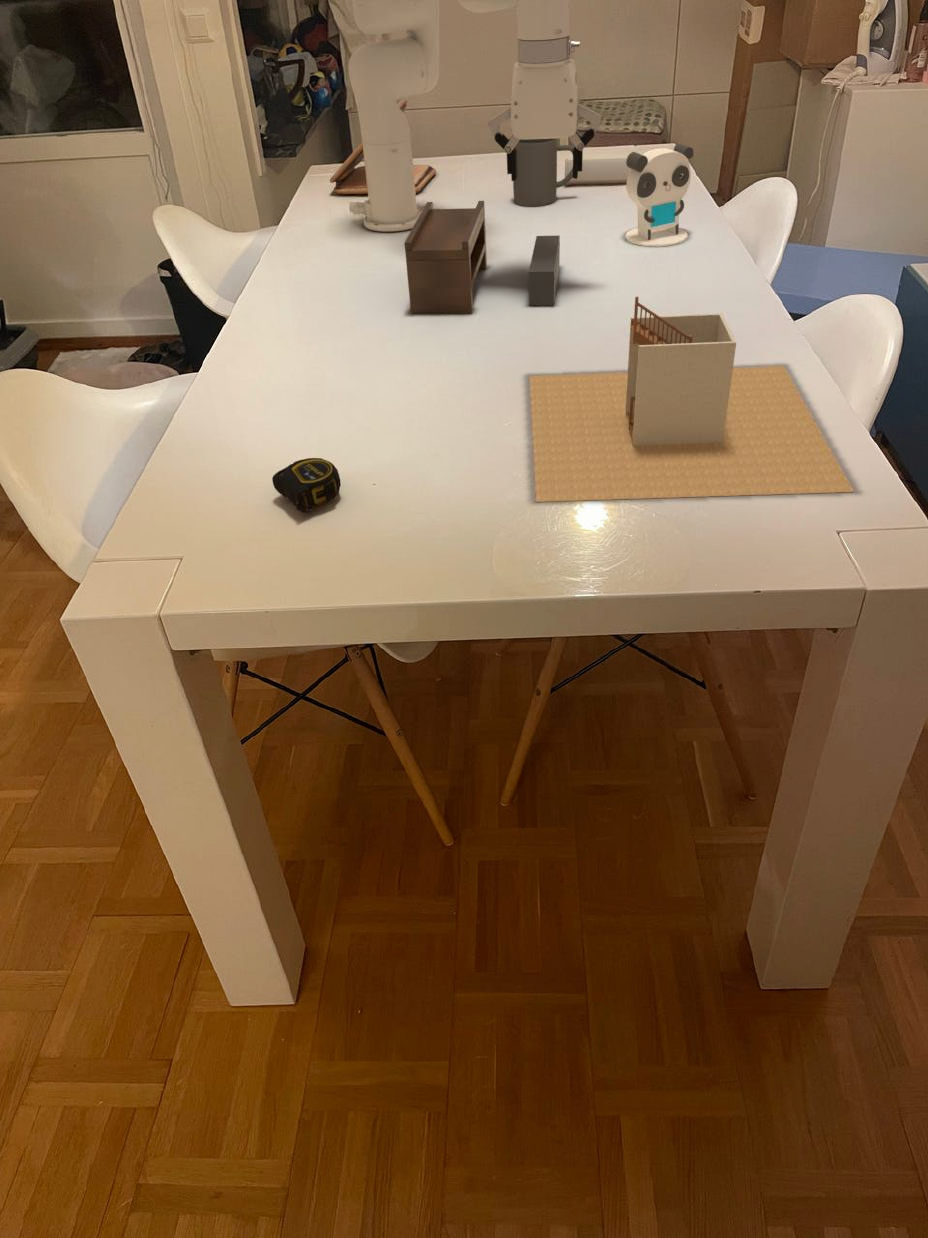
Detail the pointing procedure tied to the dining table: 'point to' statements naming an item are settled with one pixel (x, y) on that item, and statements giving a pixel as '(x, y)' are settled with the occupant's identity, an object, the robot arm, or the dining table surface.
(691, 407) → the staircase
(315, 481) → the tape measure
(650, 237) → the panda standee
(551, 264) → the case
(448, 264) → the shelf
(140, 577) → the dining table surface
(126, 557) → the dining table surface
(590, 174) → the tube
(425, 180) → the case
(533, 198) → the mug
